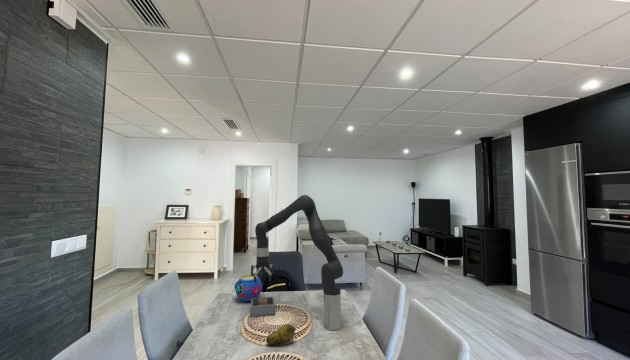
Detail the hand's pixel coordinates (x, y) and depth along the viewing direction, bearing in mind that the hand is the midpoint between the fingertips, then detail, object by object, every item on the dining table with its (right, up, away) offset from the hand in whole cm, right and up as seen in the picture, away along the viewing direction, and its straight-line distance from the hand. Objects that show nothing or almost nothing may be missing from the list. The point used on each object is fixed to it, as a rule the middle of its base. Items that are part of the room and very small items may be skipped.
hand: (262, 282), depth 162 cm
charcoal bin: (0, -18, -1) cm, 18 cm away
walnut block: (0, -17, -1) cm, 17 cm away
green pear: (+16, -15, -37) cm, 43 cm away
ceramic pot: (-13, -20, +18) cm, 30 cm away
